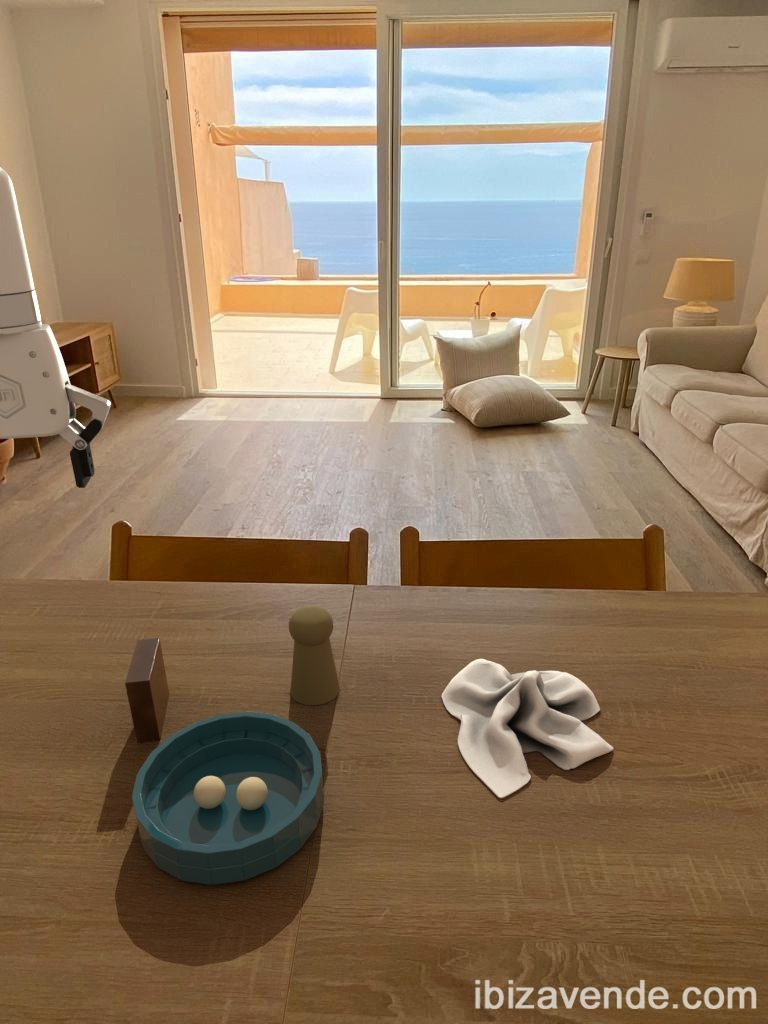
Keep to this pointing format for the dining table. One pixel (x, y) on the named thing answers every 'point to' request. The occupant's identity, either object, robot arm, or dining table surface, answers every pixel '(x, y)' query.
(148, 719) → the brown brick
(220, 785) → the dough ball
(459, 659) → the dining table surface
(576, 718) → the cloth
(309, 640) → the olive chess pawn
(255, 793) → the dough ball
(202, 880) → the bowl
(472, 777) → the dining table surface
